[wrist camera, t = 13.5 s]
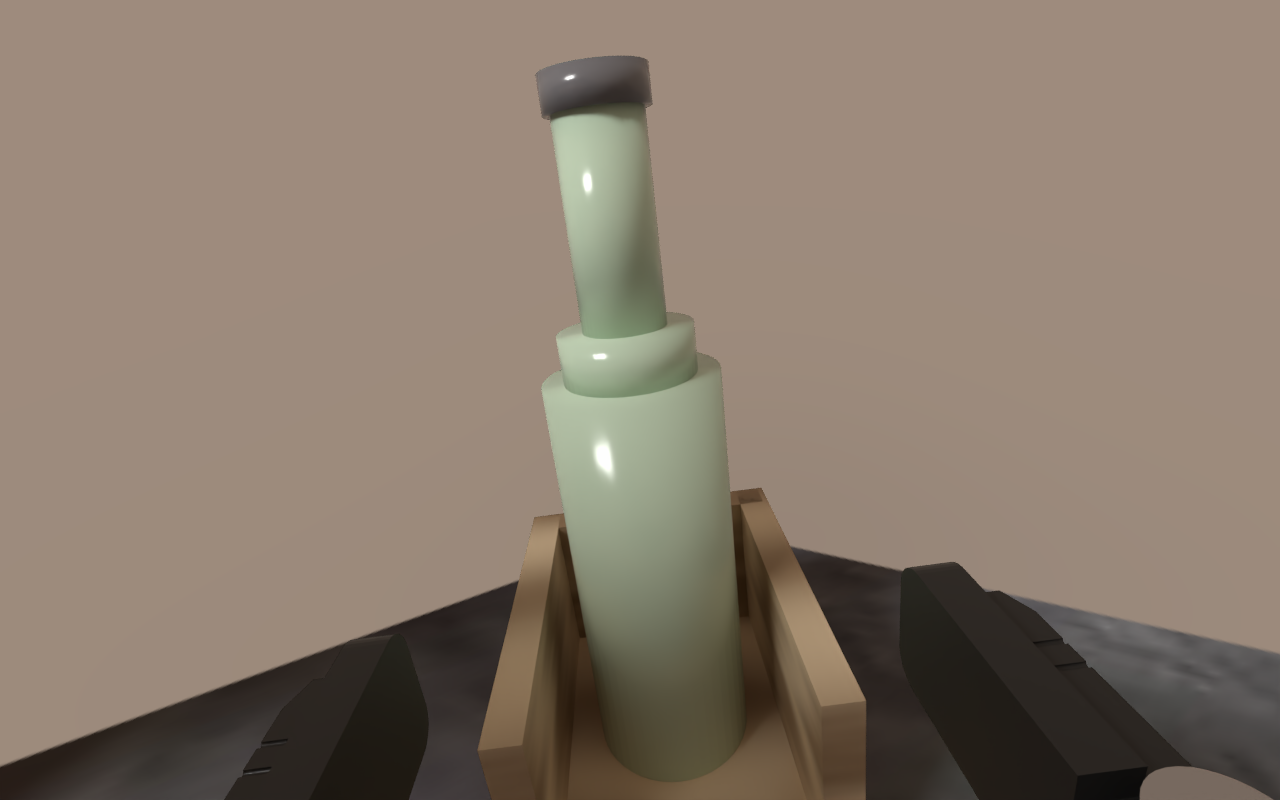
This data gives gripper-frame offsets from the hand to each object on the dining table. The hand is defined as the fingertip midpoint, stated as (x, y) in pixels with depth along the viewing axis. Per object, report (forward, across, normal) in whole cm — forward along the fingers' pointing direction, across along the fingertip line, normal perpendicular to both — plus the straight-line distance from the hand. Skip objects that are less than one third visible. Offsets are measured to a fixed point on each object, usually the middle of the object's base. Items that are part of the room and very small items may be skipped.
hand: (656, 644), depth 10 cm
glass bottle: (+10, 0, +12) cm, 16 cm away
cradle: (+10, 0, +14) cm, 17 cm away
